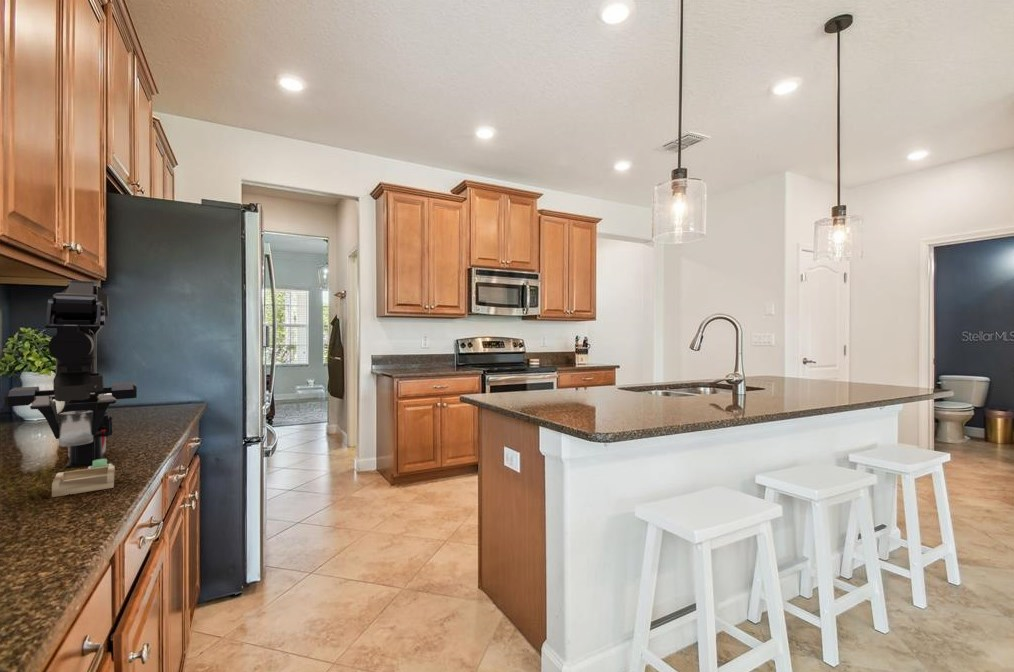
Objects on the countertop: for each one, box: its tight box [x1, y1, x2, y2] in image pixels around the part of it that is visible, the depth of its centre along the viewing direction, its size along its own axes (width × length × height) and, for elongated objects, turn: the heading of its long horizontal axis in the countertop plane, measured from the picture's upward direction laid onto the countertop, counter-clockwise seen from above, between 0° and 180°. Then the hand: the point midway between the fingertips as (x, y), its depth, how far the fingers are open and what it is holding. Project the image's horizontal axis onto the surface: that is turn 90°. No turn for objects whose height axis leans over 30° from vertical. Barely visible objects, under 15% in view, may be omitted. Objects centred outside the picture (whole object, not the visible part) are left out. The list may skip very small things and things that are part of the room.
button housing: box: [87, 463, 113, 469], centre depth 102 cm, size 4×4×2 cm
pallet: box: [51, 464, 115, 498], centre depth 95 cm, size 9×9×2 cm
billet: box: [58, 410, 93, 447], centre depth 92 cm, size 5×5×6 cm
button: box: [92, 458, 108, 468], centre depth 102 cm, size 2×2×3 cm
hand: (76, 436), depth 92 cm, fingers closed on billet, 5 cm apart
